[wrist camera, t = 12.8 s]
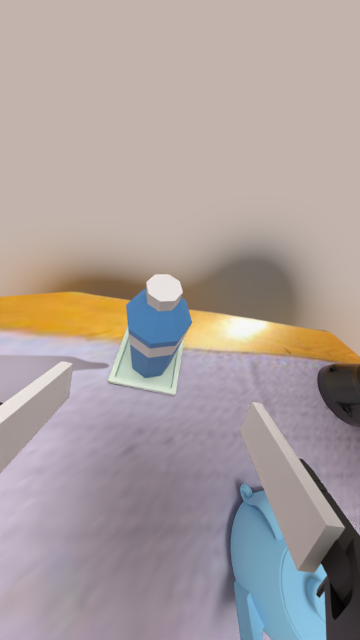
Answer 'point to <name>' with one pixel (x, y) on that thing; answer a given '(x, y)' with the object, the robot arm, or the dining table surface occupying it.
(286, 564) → the teapot
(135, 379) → the tray
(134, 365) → the water bottle
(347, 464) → the dining table surface
